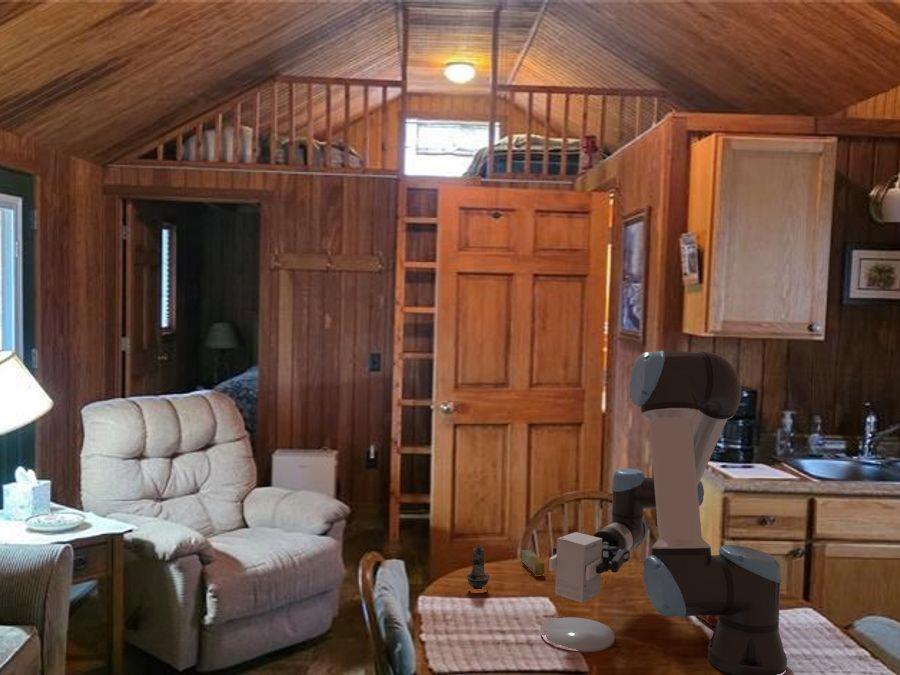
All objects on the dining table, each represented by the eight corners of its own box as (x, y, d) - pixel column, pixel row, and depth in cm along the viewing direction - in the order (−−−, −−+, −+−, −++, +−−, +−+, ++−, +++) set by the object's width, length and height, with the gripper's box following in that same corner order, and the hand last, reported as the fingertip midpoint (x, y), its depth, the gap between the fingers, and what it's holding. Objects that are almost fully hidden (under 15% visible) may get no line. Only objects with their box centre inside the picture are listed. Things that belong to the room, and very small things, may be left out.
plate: (630, 642, 172) (630, 637, 172) (572, 658, 163) (572, 653, 163) (581, 616, 185) (581, 612, 185) (525, 630, 177) (525, 625, 177)
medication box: (521, 563, 224) (521, 549, 224) (530, 562, 225) (530, 548, 224) (535, 577, 212) (535, 563, 212) (545, 577, 213) (545, 562, 213)
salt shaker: (490, 586, 204) (490, 540, 204) (488, 595, 198) (489, 547, 198) (467, 585, 205) (467, 539, 204) (465, 593, 199) (466, 546, 198)
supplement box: (582, 603, 169) (584, 545, 168) (554, 594, 174) (555, 537, 174) (601, 594, 174) (603, 538, 174) (573, 585, 180) (575, 530, 179)
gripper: (653, 567, 183) (614, 597, 164) (570, 549, 195) (525, 576, 176) (654, 535, 183) (615, 561, 164) (571, 519, 194) (526, 542, 176)
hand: (568, 569), depth 170 cm, fingers closed on supplement box, 8 cm apart
